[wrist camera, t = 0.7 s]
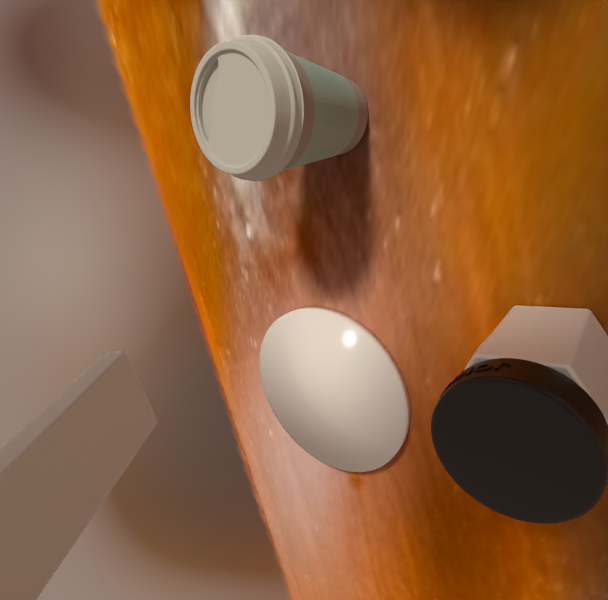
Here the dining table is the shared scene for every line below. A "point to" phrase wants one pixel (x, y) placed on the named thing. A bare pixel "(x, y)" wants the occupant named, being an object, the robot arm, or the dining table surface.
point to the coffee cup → (271, 109)
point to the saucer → (335, 388)
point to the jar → (530, 416)
